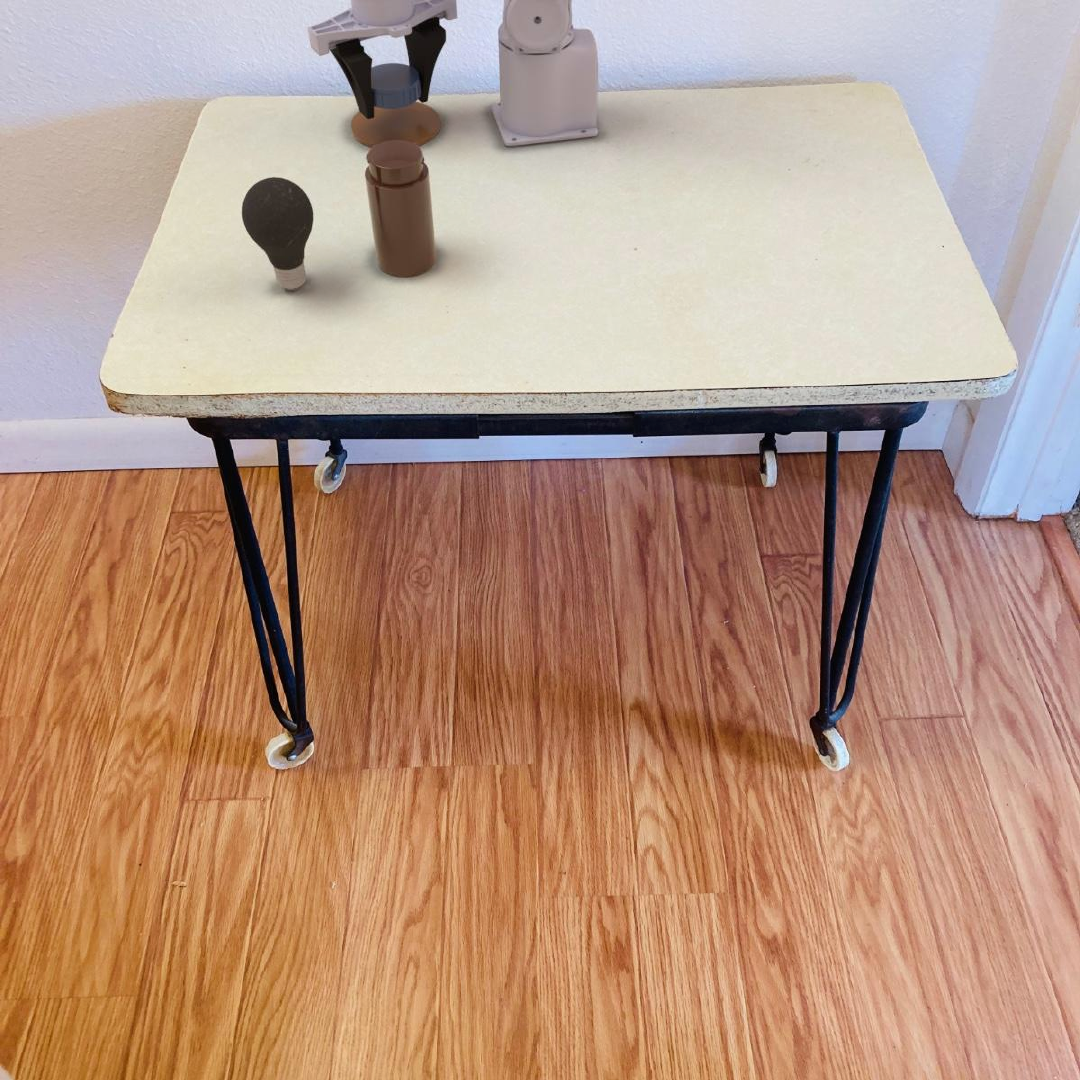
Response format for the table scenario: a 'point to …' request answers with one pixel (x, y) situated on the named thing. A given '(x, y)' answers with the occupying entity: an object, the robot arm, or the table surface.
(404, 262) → the jar
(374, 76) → the jar lid
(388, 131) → the coaster
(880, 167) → the table surface
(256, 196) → the light bulb
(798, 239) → the table surface
